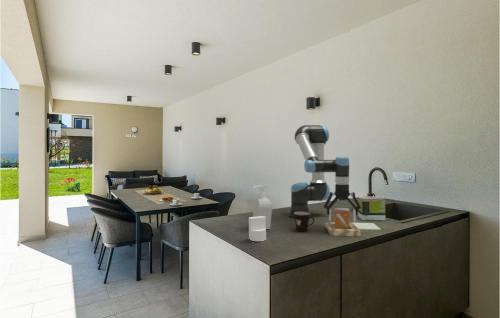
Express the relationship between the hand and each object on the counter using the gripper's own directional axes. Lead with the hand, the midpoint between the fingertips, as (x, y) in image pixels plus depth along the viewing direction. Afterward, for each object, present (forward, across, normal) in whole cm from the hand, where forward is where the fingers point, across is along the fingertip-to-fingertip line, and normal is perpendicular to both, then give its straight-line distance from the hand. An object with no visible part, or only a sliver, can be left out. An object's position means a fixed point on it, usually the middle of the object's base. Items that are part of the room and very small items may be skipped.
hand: (342, 220), depth 163 cm
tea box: (+7, +26, +33) cm, 43 cm away
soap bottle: (+6, -47, +2) cm, 47 cm away
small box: (+7, 0, 0) cm, 7 cm away
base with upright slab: (+7, -47, -20) cm, 51 cm away
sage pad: (+6, +16, +12) cm, 21 cm away
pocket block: (+6, 0, 0) cm, 6 cm away
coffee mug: (+6, -22, -1) cm, 23 cm away
